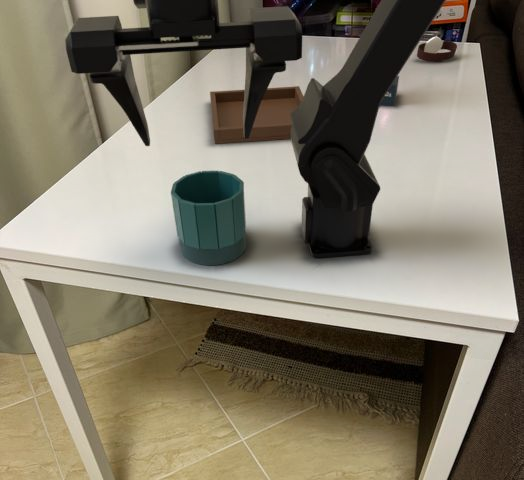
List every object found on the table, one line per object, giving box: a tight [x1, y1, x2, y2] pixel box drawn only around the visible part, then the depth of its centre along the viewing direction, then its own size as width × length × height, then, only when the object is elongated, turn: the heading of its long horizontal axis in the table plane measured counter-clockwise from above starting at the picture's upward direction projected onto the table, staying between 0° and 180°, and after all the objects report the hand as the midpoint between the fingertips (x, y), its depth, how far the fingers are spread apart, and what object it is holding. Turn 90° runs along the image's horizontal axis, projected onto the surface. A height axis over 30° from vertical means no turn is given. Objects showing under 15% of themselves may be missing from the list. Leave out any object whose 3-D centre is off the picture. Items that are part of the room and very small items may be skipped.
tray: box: [209, 85, 304, 145], centre depth 84 cm, size 15×16×2 cm
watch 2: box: [416, 35, 458, 63], centre depth 103 cm, size 8×5×4 cm, turn 105°
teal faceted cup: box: [170, 170, 247, 266], centre depth 57 cm, size 7×7×7 cm
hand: (197, 141), depth 51 cm, fingers open, 9 cm apart
